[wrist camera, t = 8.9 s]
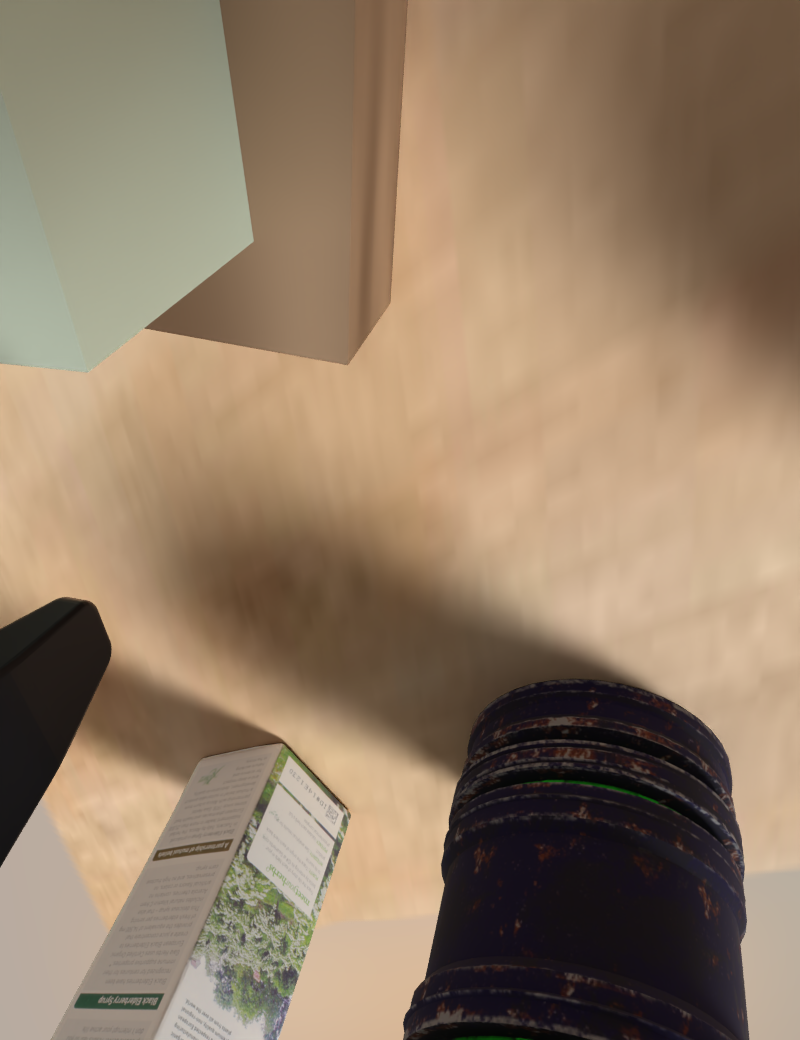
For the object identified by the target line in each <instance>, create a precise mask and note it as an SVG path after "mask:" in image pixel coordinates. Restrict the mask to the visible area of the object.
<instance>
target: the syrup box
mask: <svg viewBox="0 0 800 1040" xmlns="http://www.w3.org/2000/svg"><path fill="white" fill-rule="evenodd" d="M350 817H351V814H350V813H349V812H348V811H347V810H346V809H345V808H344V807H343V805H342V804H341V803H340V802H339V801H338V800H337V799H336V798H335V797H334V796H333V795H332V794H331V793H330V792H329V791H328V790H327V789H326V788H325V787H324V786H323V784H322V783H321V782H320V781H319V780H318V779H317V778H316V777H315V776H314V775H313V774H312V773H311V772H310V771H309V770H308V769H307V768H306V767H305V765H304V764H303V763H302V762H301V761H300V760H299V759H298V758H297V757H296V756H295V755H294V754H293V753H292V752H291V751H290V750H289V749H288V748H287V747H286V746H285V745H284V744H282V743H278V744H272V745H264V746H258V747H252V748H248V749H242V750H238V751H233V752H229V753H224V754H220V755H215V756H210V757H207V758H202V759H201V761H199V763H198V764H197V766H196V768H195V770H194V772H193V774H192V776H191V778H190V780H189V781H188V783H187V785H186V787H185V789H184V791H183V793H182V795H181V797H180V800H179V802H178V803H177V805H176V807H175V809H174V811H173V813H172V815H171V817H170V819H169V821H168V823H167V825H166V827H165V829H164V831H163V832H162V834H161V836H160V838H159V840H158V842H157V844H156V846H155V848H154V850H153V851H152V853H151V855H150V857H149V859H148V861H147V863H146V864H145V866H144V868H143V870H142V872H141V874H140V876H139V878H138V879H137V881H136V883H135V885H134V887H133V889H132V891H131V892H130V894H129V896H128V898H127V900H126V902H125V904H124V906H123V908H122V909H121V911H120V913H119V915H118V917H117V919H116V920H115V922H114V924H113V926H112V928H111V930H110V932H109V934H108V935H107V937H106V939H105V941H104V943H103V944H102V946H101V948H100V950H99V952H98V954H97V955H96V957H95V959H94V961H93V963H92V965H91V967H90V969H89V970H88V972H87V974H86V976H85V978H84V980H83V981H82V983H81V985H80V987H79V988H78V990H77V992H76V994H75V995H74V997H73V999H72V1001H71V1003H70V1005H69V1007H68V1009H67V1010H66V1012H65V1014H64V1016H63V1018H62V1020H61V1022H60V1023H59V1025H58V1027H57V1029H56V1031H55V1033H54V1035H53V1037H52V1039H51V1040H278V1038H279V1035H280V1032H281V1029H282V1026H283V1023H284V1020H285V1017H286V1014H287V1011H288V1007H289V1004H290V1001H291V998H292V995H293V992H294V989H295V985H296V982H297V980H298V977H299V974H300V971H301V968H302V965H303V962H304V959H305V956H306V953H307V950H308V947H309V944H310V940H311V937H312V934H313V931H314V928H315V925H316V922H317V919H318V915H319V912H320V909H321V906H322V903H323V900H324V897H325V894H326V891H327V888H328V885H329V882H330V879H331V875H332V873H333V870H334V867H335V863H336V860H337V857H338V853H339V851H340V848H341V845H342V842H343V839H344V836H345V833H346V830H347V826H348V824H349V820H350Z"/></svg>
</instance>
